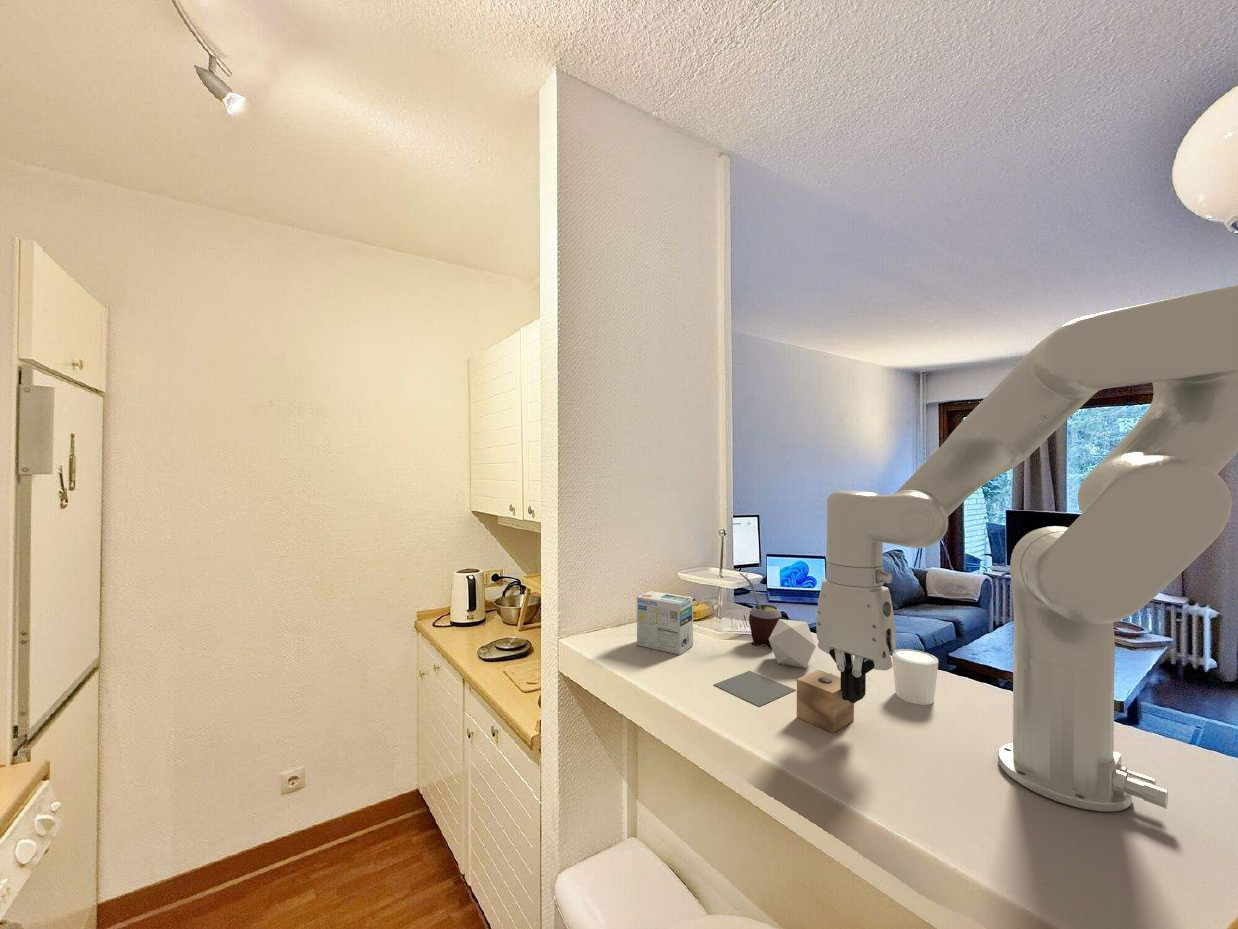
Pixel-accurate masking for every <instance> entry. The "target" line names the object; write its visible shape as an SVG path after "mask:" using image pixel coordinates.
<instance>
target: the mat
mask: <svg viewBox="0 0 1238 929" xmlns="http://www.w3.org/2000/svg"><path fill="white" fill-rule="evenodd" d="M713 686H715V687H716V688H719V689H721V690H723V691H725V692H727V693H728V694H732V695H734V696H735V697H738V698H740V699H742V700H744V701H745V702H749V703H750V704H753V705H754V706H755V707H756V706H757V707H759V708H761V707H762V706H764V705H766V704H769V703H772V702H774V701H775V700H778V699H780V698H782V697H784V696H787V695H789V694H790V693H792V692H795V691H796V689H795V688H793V687H790V686H788V685H786V684H783V683H780V682H778V681H775V680H773V679H770V678H768V677H767V676H764V675H762V674H759V673H757V672H754V671H751V670H748V671H744V672H743V673H740V674H737V675H734V676H732V677H730V678H727V679H724V680H721V681H718V682H716V683H714V684H713Z"/></svg>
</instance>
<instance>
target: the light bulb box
mask: <svg viewBox="0 0 1238 929" xmlns="http://www.w3.org/2000/svg"><path fill="white" fill-rule="evenodd" d="M693 601H694V598H693V596H687V595H681V594H679V595H678V594H672V593H666V592H660V591H653V590H650V591H647V592H645V593H643V594H639V595H638V596H637V597H636V646H639V647H644V648H649V649H651V650H655V651H656V650H657V651H662V652H665V653H671V654H674V655H675V654H676V655H678V656H681V655H682V654H684V653H685V652H686V651H687V650H689V649H690V648H692V647H693V646H694V611H693V610H694V608H693V607H694V603H693Z"/></svg>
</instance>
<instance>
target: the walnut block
mask: <svg viewBox="0 0 1238 929" xmlns="http://www.w3.org/2000/svg"><path fill="white" fill-rule="evenodd" d="M796 718H798V719H801V720H802V721H805V722H807V723H809V724H811V725H814V726H816V727H818V728H820V729H823V730H824V731H827V732H829V733H832V734H834V733H835V732H837V731H839V730H841V729H842V728H844V727H846V726H848V725H849V724H850V723H852V722H854V721H855V703H854V704H853V703H851V702H849V701H848V700H847V701H846V700H843V699H842V690H841V676H837V675H835V674H832V673H828V672H826V671H824V670H820V669H816V670H814V671H812V672H809V673H807V674H806V675H803V676H801V677H799V678H797V679H796Z"/></svg>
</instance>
